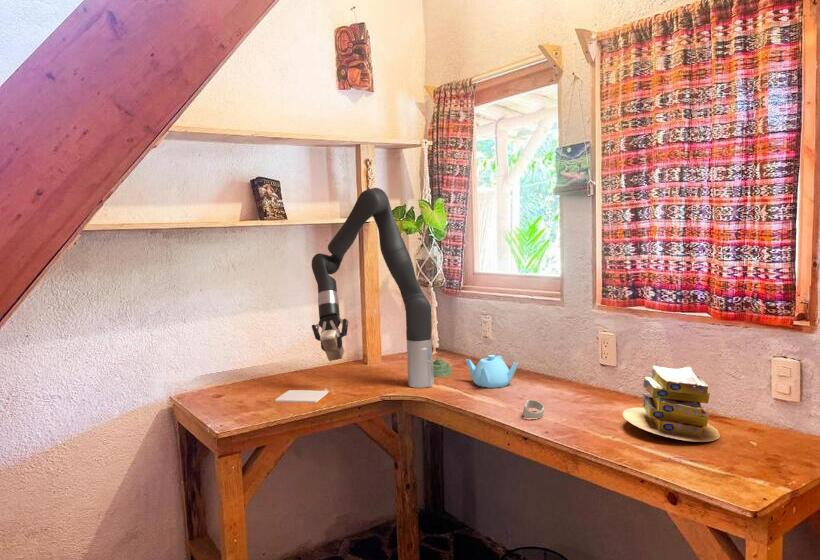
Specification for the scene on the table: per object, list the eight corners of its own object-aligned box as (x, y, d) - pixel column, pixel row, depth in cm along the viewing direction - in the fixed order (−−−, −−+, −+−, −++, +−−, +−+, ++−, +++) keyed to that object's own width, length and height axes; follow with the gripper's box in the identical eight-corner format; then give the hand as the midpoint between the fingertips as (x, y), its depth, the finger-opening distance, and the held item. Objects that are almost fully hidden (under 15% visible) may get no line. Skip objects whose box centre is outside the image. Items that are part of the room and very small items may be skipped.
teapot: (520, 386, 221) (520, 357, 220) (482, 391, 216) (481, 361, 215) (501, 377, 235) (501, 349, 235) (465, 381, 231) (464, 353, 230)
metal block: (344, 351, 228) (335, 328, 224) (341, 358, 223) (333, 335, 219) (331, 353, 229) (323, 330, 225) (328, 361, 224) (320, 338, 220)
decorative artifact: (423, 377, 241) (448, 378, 238) (422, 359, 240) (447, 360, 237) (429, 371, 250) (453, 371, 247) (429, 354, 250) (453, 354, 247)
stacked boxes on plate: (716, 420, 177) (716, 363, 176) (724, 450, 154) (724, 384, 153) (625, 413, 187) (625, 359, 185) (620, 440, 164) (620, 378, 162)
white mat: (328, 392, 222) (328, 390, 222) (316, 402, 209) (315, 401, 209) (289, 391, 225) (289, 390, 225) (274, 401, 212) (274, 400, 212)
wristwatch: (526, 411, 193) (526, 395, 192) (547, 412, 190) (546, 396, 190) (520, 419, 184) (519, 403, 184) (541, 421, 182) (540, 405, 181)
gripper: (306, 305, 226) (309, 351, 221) (343, 298, 223) (347, 343, 218) (314, 311, 233) (317, 354, 227) (350, 304, 230) (354, 348, 225)
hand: (332, 349), depth 223 cm, fingers closed on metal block, 5 cm apart
